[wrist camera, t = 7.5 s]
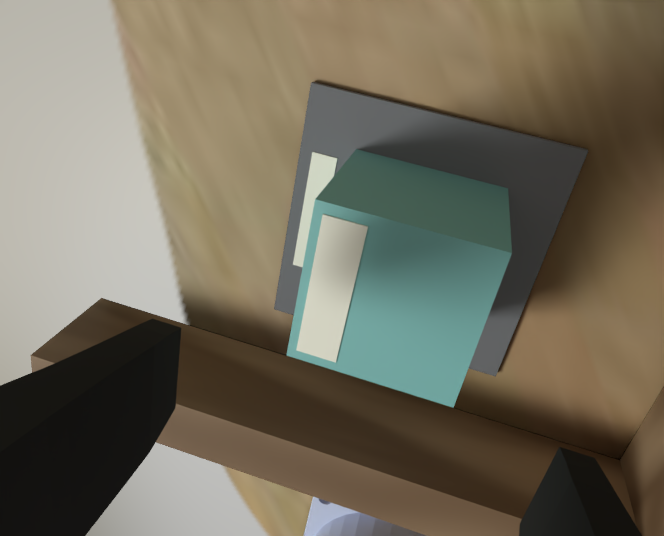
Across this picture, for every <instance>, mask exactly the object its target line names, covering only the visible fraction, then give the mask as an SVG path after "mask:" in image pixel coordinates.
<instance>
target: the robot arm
mask: <svg viewBox="0 0 664 536" xmlns="http://www.w3.org/2000/svg"><path fill="white" fill-rule="evenodd" d="M180 340H181V327H178V326H175V325H171V324H168V323H165V322H162V321H159V320H156V319H150V320H148V321H146V322H143V323H141V324H139V325H137V326H135V327H132V328H130V329H128V330H126V331H124V332H122V333H120V334H117V335H115V336H113V337H111V338H109V339H107V340H105V341H103V342H101V343H98V344H96V345H94V346H92V347H90V348H88V349H85V350H83V351H81V352H79V353H77V354H74V355H72V356H70V357H68V358H66V359H63V360H61V361H59V362H57V363H55V364H52V365H50V366H48V367H45V368H43V369H40V370H38V371H35V372H33V373H31V374H28V375H25V376H23V377H21V378H18V379H16V380H13V381H11V382H8V383H6V384H3V385H1V386H0V536H85V535H86V534H87V533H88V531H89V530H90V528H91V527H92V526H93V525H94V524H95V522H96V521H97V520H98V519H99V517H100V516H101V515H102V513H103V512H104V510H105V509H106V508H107V507H108V506H109V504H110V503H111V502H112V500H113V499H114V498H115V497H116V495H117V494H118V493H119V491H120V490H121V489H122V488H123V486H124V485H125V484H126V482H127V481H128V480H129V478H130V477H131V476H132V475H133V473H134V472H135V471H136V469H137V468H138V466H139V465H140V464H141V463H142V461H143V460H144V459H145V457H146V456H147V455H148V453H149V452H150V450H151V449H152V447H153V445H154V444H155V442H156V441H157V439H158V437H159V436H160V434H161V432H162V431H163V429H164V427H165V425H166V424H167V422H168V420H169V418H170V417H171V415H172V413H173V411H174V410H175V407H176V394H177V380H178V367H179V354H180ZM304 536H427V535H424V534H421V533H418V532H415V531H412V530H409V529H406V528H403V527H400V526H398V525H395V524H392V523H389V522H386V521H383V520H380V519H377V518H374V517H371V516H369V515H366V514H363V513H360V512H357V511H354V510H351V509H348V508H345V507H342V506H340V505H337V504H334V503H331V502H328V501H325V500H322V499H319V498H316V497H313V499H312V503H311V508H310V512H309V516H308V520H307V524H306V528H305V532H304ZM519 536H642V535H641V533H640V531H639V530H638V528H637V526H636V525H635V523H634V522H633V520H632V518H631V517H630V515H629V513H628V512H627V510H626V508H625V507H624V505H623V503H622V502H621V500H620V498H619V497H618V495H617V493H616V492H615V490H614V488H613V487H612V485H611V483H610V482H609V480H608V478H607V477H606V475H605V473H604V472H603V470H602V469H601V467H600V465H599V464H598V462H597V461H596V459H595V458H594V457H590V456H587V455H584V454H581V453H578V452H575V451H571V450H568V449H565V448H562V447H559V448H558V450H557V452H556V454H555V456H554V458H553V460H552V462H551V464H550V466H549V468H548V470H547V472H546V474H545V476H544V477H543V479H542V481H541V483H540V485H539V487H538V489H537V491H536V493H535V495H534V497H533V499H532V501H531V503H530V505H529V507H528V509H527V510H526V512H525V514H524V516H523V518H522V520H521V522H520V528H519Z"/></svg>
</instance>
